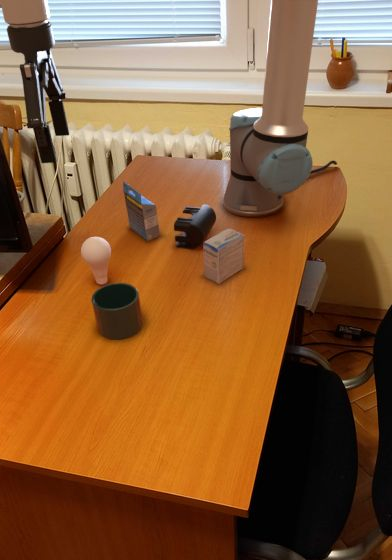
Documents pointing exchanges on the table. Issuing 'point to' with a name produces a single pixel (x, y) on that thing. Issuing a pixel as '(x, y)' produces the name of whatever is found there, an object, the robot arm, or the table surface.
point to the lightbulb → (97, 257)
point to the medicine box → (223, 255)
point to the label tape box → (141, 213)
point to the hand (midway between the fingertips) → (56, 148)
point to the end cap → (194, 226)
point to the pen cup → (117, 311)
